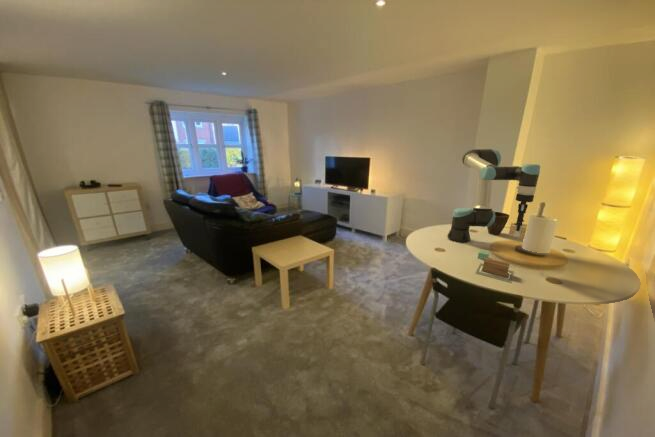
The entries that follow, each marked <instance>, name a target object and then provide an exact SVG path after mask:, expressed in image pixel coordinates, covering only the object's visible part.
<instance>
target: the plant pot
mask: <svg viewBox="0 0 655 437" xmlns="http://www.w3.org/2000/svg"><path fill="white" fill-rule="evenodd" d="M494 212H495V221H494V223H493V224H492V225H491V226H489V227H487V233H488V234H490V235H492V236H500V235H501V233H502V231H503V230H504V228H505V227H506V225H507V224H508V221H509V218H510V214H508V213H505V212H499V211H494Z"/></svg>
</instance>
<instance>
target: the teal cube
mask: <svg viewBox="0 0 655 437" xmlns="http://www.w3.org/2000/svg"><path fill="white" fill-rule="evenodd" d="M489 257H490V251H487V250H486V251H485V250H481V249H480V250H479V251H478V252H477V259H478V260H482V261H483V260H485V258H489Z"/></svg>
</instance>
